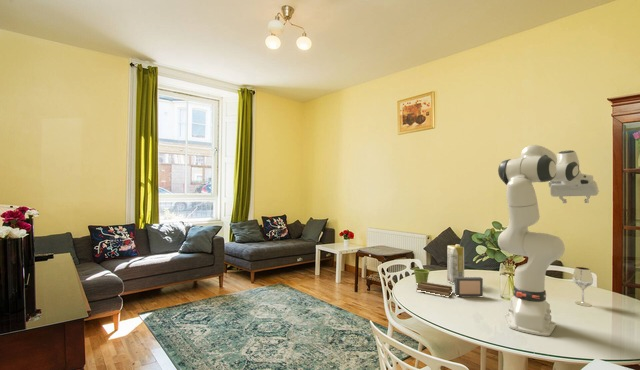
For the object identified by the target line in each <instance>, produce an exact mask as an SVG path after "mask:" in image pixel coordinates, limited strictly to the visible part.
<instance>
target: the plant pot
mask: <svg viewBox="0 0 640 370" xmlns="http://www.w3.org/2000/svg"><path fill="white" fill-rule="evenodd" d="M413 273H414V277H415V284H416V283H418V284H420V282H421V281H422V282H428V280H429V274H430V270H429V269H425V268H414V269H413Z"/></svg>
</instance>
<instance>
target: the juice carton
mask: <svg viewBox="0 0 640 370" xmlns="http://www.w3.org/2000/svg"><path fill="white" fill-rule="evenodd" d="M446 250H447V252H446V254H447V255H446V256H447V259H446V260H447V261H446V262H447V264H446V265H447V266H446V267H447V269H446V270H447V275H446V276H447V277H446V278H447V282H448V281H450V282H452V283H454V284H455V277H465V247H464V246H461V244H458V243H456V244H455V245H453V244H451V245H447V249H446ZM452 283H451V284H452ZM454 284H453V285H454Z"/></svg>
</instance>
